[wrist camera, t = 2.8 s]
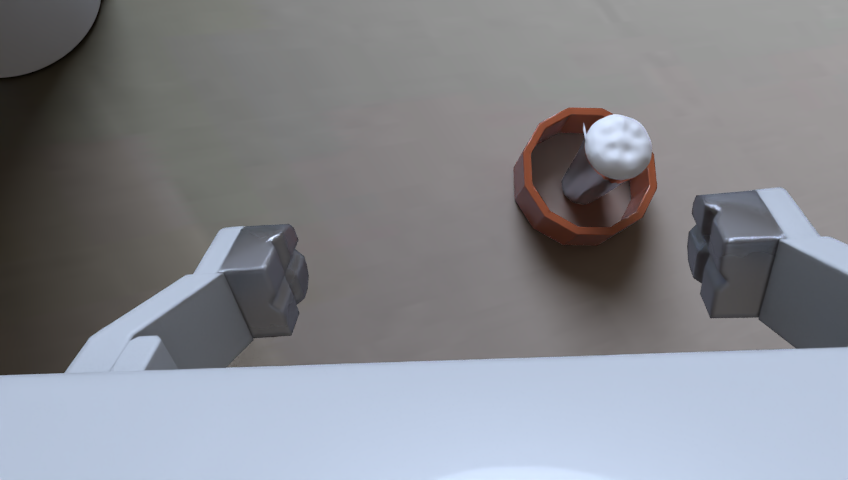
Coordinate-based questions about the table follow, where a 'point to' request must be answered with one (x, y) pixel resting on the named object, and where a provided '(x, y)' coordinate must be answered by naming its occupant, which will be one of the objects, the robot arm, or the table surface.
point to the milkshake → (607, 158)
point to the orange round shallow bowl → (554, 224)
